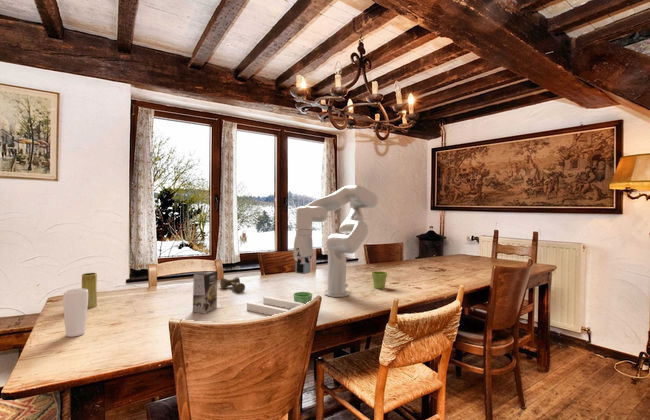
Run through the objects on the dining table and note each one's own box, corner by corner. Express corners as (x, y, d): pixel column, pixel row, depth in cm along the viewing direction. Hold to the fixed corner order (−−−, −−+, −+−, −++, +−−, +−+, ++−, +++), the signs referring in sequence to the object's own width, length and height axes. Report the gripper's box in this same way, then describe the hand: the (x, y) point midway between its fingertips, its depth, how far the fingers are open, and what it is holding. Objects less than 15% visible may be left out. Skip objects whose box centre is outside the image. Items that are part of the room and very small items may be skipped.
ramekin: (299, 307, 147) (299, 297, 147) (289, 302, 154) (289, 293, 154) (316, 304, 152) (316, 294, 152) (305, 299, 160) (305, 290, 160)
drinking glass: (71, 330, 115) (72, 288, 115) (92, 330, 115) (92, 288, 115) (57, 338, 108) (58, 293, 108) (79, 338, 109) (80, 293, 108)
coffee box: (206, 313, 136) (206, 274, 136) (192, 312, 137) (192, 274, 137) (217, 307, 145) (218, 270, 145) (204, 306, 146) (205, 270, 146)
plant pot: (367, 288, 185) (368, 272, 185) (375, 285, 193) (375, 270, 193) (383, 290, 180) (383, 275, 180) (390, 287, 188) (390, 272, 188)
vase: (100, 305, 144) (101, 273, 144) (86, 309, 138) (87, 275, 138) (90, 304, 146) (91, 272, 146) (76, 307, 140) (77, 274, 140)
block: (301, 271, 157) (301, 261, 157) (310, 272, 154) (310, 262, 154) (295, 272, 152) (295, 263, 152) (304, 274, 150) (304, 264, 150)
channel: (266, 302, 153) (266, 296, 153) (306, 310, 142) (306, 303, 142) (246, 309, 142) (246, 302, 142) (289, 319, 131) (289, 311, 131)
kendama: (231, 295, 167) (216, 286, 183) (249, 292, 173) (233, 284, 189) (232, 283, 167) (217, 275, 182) (249, 281, 173) (233, 274, 189)
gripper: (307, 231, 162) (306, 268, 163) (286, 233, 148) (286, 273, 148) (320, 232, 159) (319, 269, 159) (300, 234, 144) (299, 275, 144)
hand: (303, 271), depth 153 cm, fingers closed on block, 5 cm apart
